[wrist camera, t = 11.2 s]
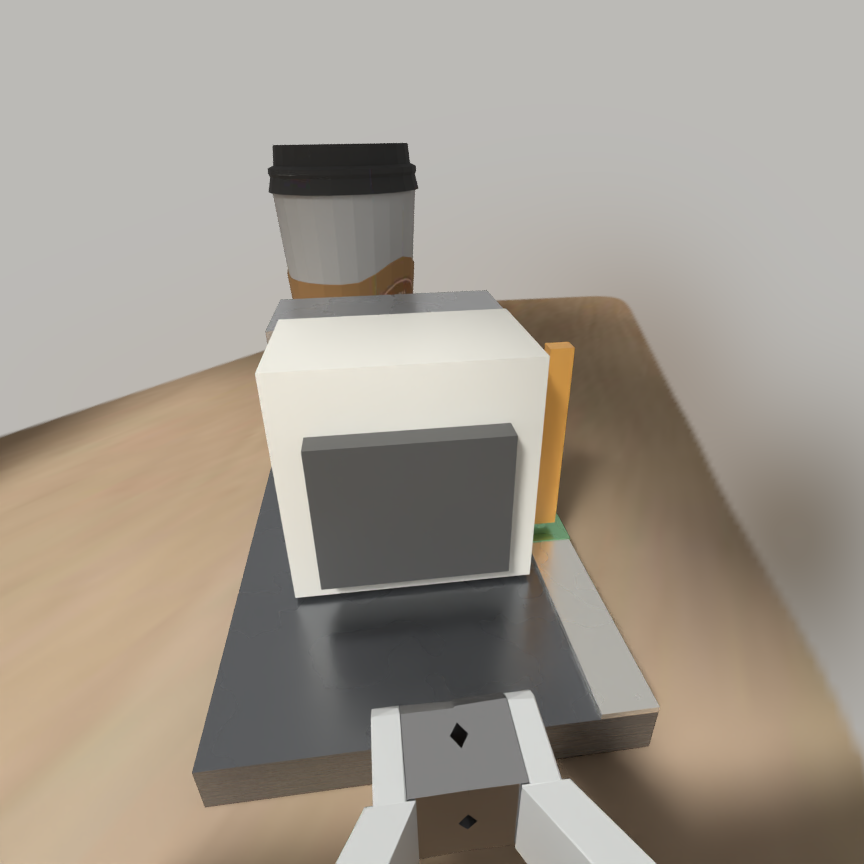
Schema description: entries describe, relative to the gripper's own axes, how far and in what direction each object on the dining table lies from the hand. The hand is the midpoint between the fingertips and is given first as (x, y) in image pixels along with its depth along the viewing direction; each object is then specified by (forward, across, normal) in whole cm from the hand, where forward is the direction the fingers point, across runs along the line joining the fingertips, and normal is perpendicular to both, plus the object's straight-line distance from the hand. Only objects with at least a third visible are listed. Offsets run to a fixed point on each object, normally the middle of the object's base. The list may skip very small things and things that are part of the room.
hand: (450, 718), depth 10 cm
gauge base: (+11, 0, +6) cm, 12 cm away
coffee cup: (+28, +2, +6) cm, 28 cm away
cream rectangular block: (+10, -1, +4) cm, 10 cm away
